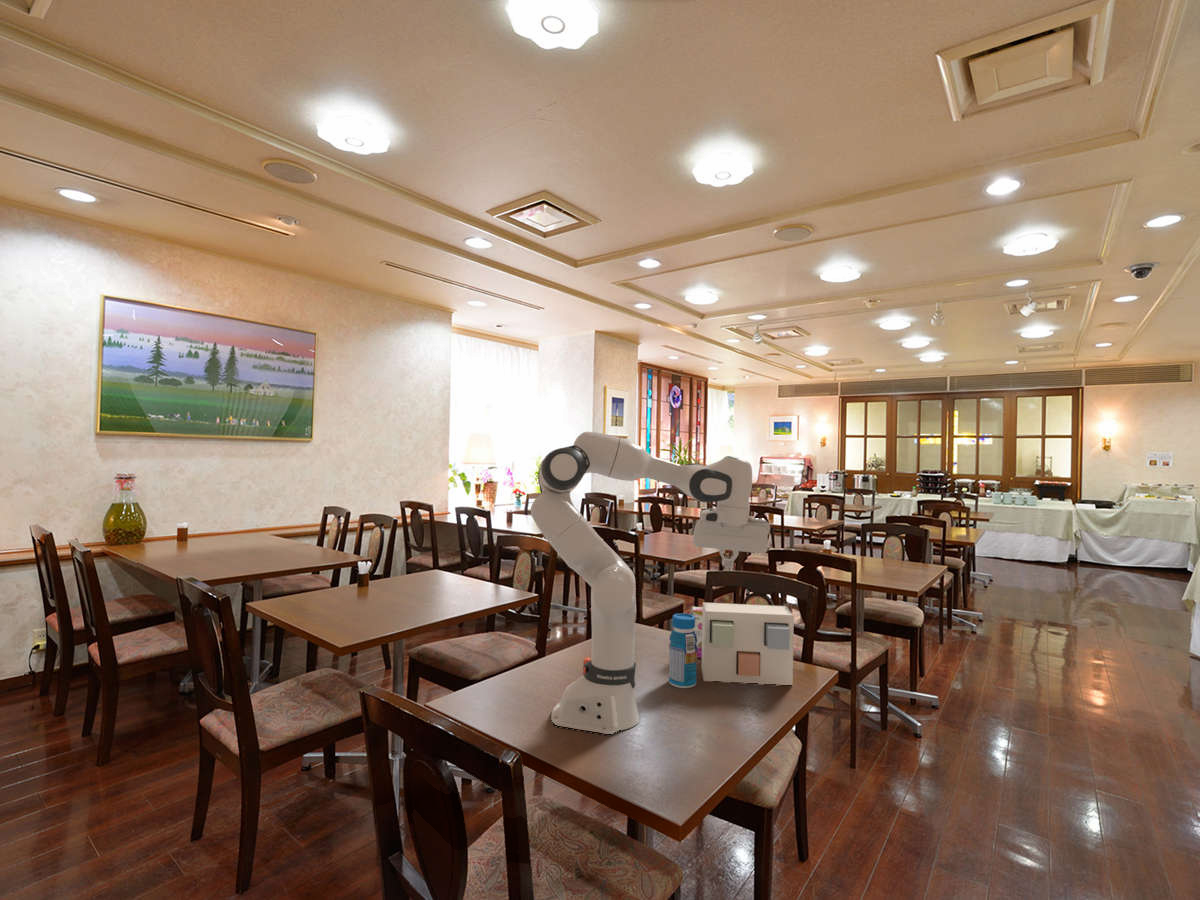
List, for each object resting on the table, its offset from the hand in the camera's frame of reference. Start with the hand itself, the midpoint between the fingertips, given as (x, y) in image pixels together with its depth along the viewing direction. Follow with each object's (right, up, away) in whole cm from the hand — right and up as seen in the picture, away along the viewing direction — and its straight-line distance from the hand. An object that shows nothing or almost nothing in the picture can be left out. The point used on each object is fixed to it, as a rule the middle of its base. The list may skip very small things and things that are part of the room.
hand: (727, 565), depth 161 cm
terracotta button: (+9, -35, +15) cm, 39 cm away
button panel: (+10, -38, +19) cm, 44 cm away
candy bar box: (+1, -38, +36) cm, 52 cm away
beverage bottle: (-11, -38, +13) cm, 41 cm away
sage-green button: (+1, -26, +14) cm, 29 cm away
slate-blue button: (+17, -26, +12) cm, 34 cm away
